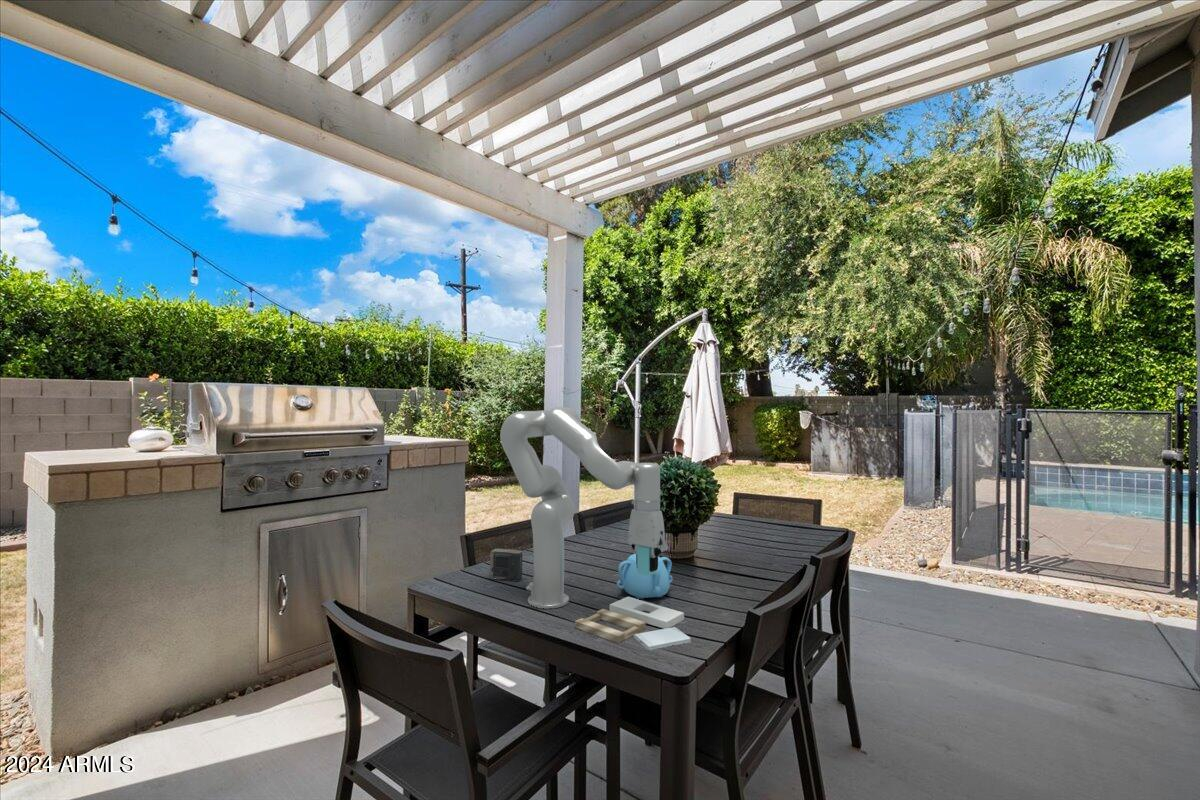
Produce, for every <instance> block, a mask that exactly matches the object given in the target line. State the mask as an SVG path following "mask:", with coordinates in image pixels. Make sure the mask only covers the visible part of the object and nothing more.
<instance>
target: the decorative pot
mask: <svg viewBox="0 0 1200 800" xmlns="http://www.w3.org/2000/svg"><path fill="white" fill-rule="evenodd" d="M665 561H667V565H665V563H664V562H665ZM672 564H673V563H672V560H671V559H670V558H668V557H667V556H661V557H660V556H658V569H657V573H655V574H652V575H650V576H647V575H642V574H638V573H637V564H636V554H635V553H633V554H631V555H630V556H628V558H626V560H623V561H621V562H620V563H619V564H618V567H617V571H618V575H619V578H620V579H618V580H617V582H616V587H617V588H618V589H620V590H622V589H624V590H625V592H626V593H627V594H629V595H631V596H633V597H634V598H635V599H636V598H637V599H638V600H639V599H642V600H644V599H645V598H647V599H648V598H662V597H664V596H665V595H666V594H667V593H668V591H669V589H670V587H671V584H670V583H672V582H673V579H674V578H673V576H672V574H670V573H671V571H672V566H673V565H672ZM620 583H621V584H620ZM661 596H662V597H661ZM643 598H644V599H643Z"/></svg>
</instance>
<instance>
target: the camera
mask: <svg viewBox="0 0 1200 800" xmlns="http://www.w3.org/2000/svg"><path fill="white" fill-rule="evenodd" d="M489 553H490V554H489V555H490V556H489V558H490V559H489V573H488V574H489V578H490V579H491V578H496V579H495V580H500V579H508V580H507V581H511V580H517V581H516V582H520V581H521V580H523V551H522V550H516V549H509V548H507V549H506V548H494V549H492V550H491V551H490V552H489ZM520 579H521V580H520Z"/></svg>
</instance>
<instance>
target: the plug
mask: <svg viewBox="0 0 1200 800" xmlns="http://www.w3.org/2000/svg"><path fill="white" fill-rule="evenodd" d="M650 557H651V551H650V548H649V547H644V546H639V545H638V546H637V573H638V574H642V575H647V576H650V575H652V574H655V573H657V570H655V571H653V572H650Z"/></svg>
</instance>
